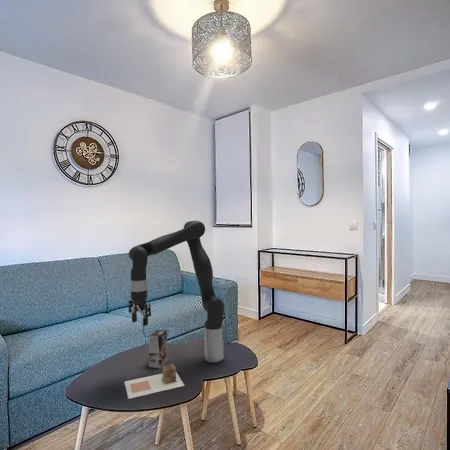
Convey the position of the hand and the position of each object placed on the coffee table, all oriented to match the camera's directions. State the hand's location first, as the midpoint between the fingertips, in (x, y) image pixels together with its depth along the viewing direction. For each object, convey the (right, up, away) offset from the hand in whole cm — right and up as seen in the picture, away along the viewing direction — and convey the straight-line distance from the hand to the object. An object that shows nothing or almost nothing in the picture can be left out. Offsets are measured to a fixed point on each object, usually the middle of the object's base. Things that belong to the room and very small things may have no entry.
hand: (139, 323), depth 141 cm
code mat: (+8, -26, -5) cm, 27 cm away
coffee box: (+5, -26, +14) cm, 30 cm away
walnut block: (+14, -25, -2) cm, 29 cm away
